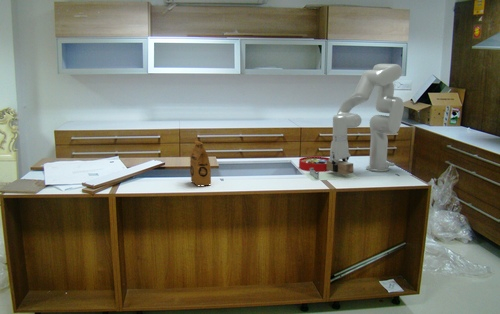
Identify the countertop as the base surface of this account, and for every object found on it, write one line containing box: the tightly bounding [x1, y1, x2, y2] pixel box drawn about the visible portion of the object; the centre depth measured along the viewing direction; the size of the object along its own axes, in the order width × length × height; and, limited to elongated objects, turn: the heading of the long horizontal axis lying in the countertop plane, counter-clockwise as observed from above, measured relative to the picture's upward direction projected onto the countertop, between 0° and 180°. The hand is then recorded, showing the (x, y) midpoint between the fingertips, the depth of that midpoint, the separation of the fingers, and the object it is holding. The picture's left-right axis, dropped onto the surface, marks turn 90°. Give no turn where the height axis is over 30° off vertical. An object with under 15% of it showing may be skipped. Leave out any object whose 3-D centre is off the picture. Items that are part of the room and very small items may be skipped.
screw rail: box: [309, 168, 320, 181], centre depth 247 cm, size 2×13×4 cm, turn 10°
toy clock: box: [298, 156, 330, 172], centre depth 267 cm, size 20×6×20 cm
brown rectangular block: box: [327, 159, 354, 175], centre depth 249 cm, size 6×14×5 cm, turn 35°
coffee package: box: [189, 140, 212, 186], centre depth 236 cm, size 10×12×22 cm
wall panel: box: [303, 171, 359, 182], centre depth 249 cm, size 26×16×1 cm, turn 100°
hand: (339, 170), depth 250 cm, fingers closed on brown rectangular block, 6 cm apart
